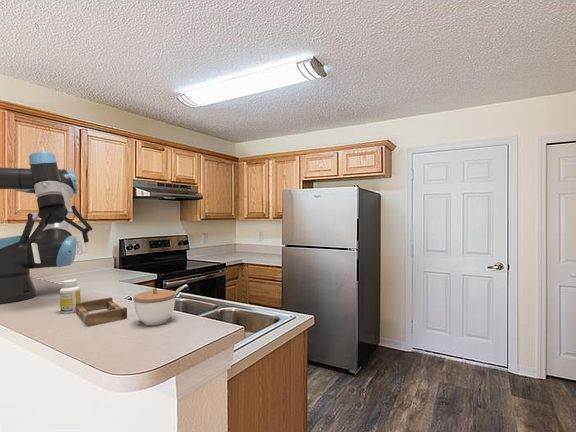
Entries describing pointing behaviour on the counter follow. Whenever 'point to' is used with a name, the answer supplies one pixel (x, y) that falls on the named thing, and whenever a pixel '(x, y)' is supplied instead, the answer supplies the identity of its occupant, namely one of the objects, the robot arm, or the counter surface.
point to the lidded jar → (154, 306)
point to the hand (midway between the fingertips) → (62, 257)
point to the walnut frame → (100, 317)
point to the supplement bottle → (69, 296)
